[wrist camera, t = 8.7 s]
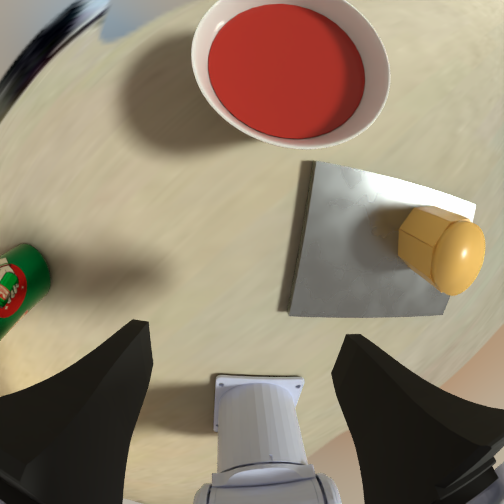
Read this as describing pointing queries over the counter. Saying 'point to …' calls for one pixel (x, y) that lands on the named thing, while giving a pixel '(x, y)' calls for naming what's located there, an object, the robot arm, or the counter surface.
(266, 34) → the candle
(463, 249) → the orange cap
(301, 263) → the plate
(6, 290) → the soda can
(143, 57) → the counter surface
